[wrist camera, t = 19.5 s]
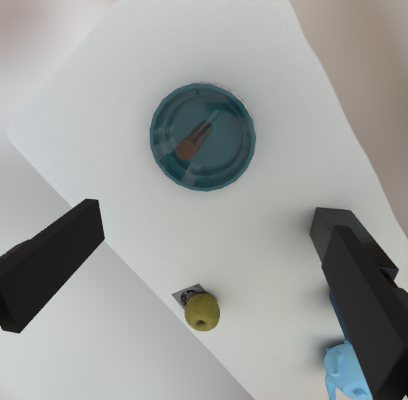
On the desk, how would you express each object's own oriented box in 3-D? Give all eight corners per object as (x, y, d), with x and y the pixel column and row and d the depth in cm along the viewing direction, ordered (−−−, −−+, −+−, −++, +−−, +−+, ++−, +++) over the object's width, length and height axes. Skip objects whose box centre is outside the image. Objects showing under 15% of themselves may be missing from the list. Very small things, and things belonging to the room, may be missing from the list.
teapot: (368, 370, 63) (389, 419, 54) (312, 365, 65) (323, 411, 56) (380, 336, 57) (405, 383, 48) (319, 331, 59) (332, 376, 50)
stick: (214, 123, 42) (198, 145, 27) (209, 135, 43) (191, 163, 28) (202, 118, 42) (180, 137, 27) (197, 130, 43) (173, 155, 28)
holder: (350, 210, 45) (431, 309, 26) (341, 237, 48) (408, 346, 28) (316, 207, 46) (369, 300, 27) (309, 234, 49) (353, 338, 29)
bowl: (259, 85, 39) (262, 85, 34) (248, 181, 46) (248, 195, 41) (159, 81, 41) (146, 81, 35) (163, 174, 48) (152, 186, 43)
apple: (221, 311, 61) (218, 338, 55) (189, 308, 62) (183, 334, 56) (221, 288, 58) (218, 313, 52) (187, 285, 59) (180, 310, 53)
